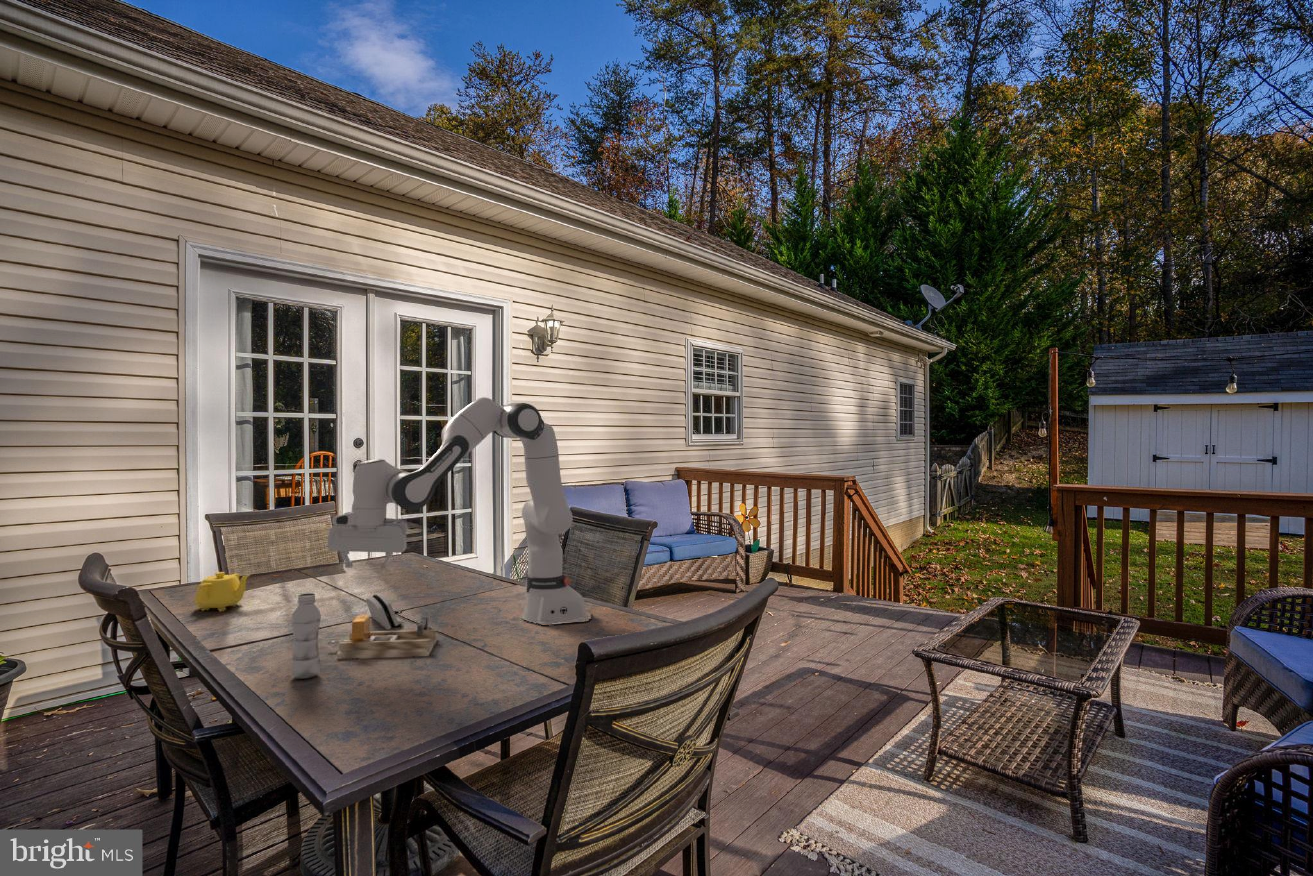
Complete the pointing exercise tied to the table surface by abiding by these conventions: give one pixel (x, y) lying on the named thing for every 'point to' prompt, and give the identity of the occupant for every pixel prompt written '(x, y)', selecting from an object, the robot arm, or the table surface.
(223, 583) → the teapot
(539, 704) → the table surface
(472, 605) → the table surface
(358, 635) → the chain end link
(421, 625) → the keeper hook
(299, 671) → the plastic bottle
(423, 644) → the guide board
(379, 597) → the grey rounded slab
